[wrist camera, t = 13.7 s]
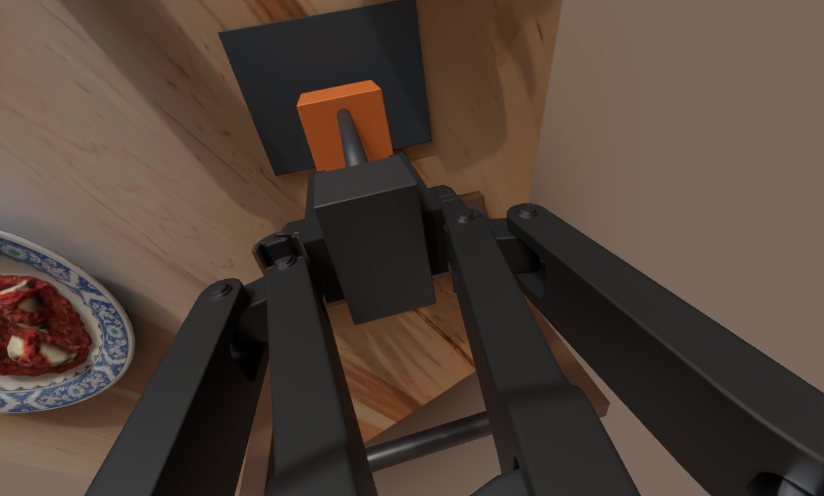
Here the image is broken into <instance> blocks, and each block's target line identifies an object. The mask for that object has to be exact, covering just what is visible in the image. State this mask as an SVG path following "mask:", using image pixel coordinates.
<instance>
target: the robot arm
mask: <svg viewBox="0 0 824 496" xmlns="http://www.w3.org/2000/svg"><path fill="white" fill-rule="evenodd" d="M397 155H399V156H400V158H401V159H402V161H403V162H404V164H405V165H406V167H407V168H408V170H409V171H410V173H411V174H412V176H413V178H414V179H415V181H416V182H417V184H418V189H419V195H420V202H421V208H422V215H423V221H424V228H425V234H426V241H427V247H428V254H429V260H430V267H431V273H432V276H433V275H437V274H441V273H445V272H448V271H449V268H448V262H449V264H450V265H451V269H452V279H453V288H454V293H456V294H457V298H458V301H459V305H460V309H461V313H462V317H463V321H464V325H465V329H466V333H467V337H468V341H469V344H470V348H471V352H472V356H473V360H474V364H475V368H476V372H477V376H478V379H479V383H480V387H481V391H482V395H483V399H484V403H485V407H486V411H487V415H488V419H489V422H490V426H491V430H492V434H493V438H494V442H495V446H496V450H497V454H498V458H499V463H500V468H501V475H498V476H496V477H495V478H493V479H492V480H490V481H489V482H488V483H486V484H485V485H484V486H482V487H481V488H479V489H478V490H477V491H475V492H474V493H473V494H471V495H470V496H641V495H640V494H639V491H638V489H637V488H636V486H635V484H634V483H633V480H632V478H631V476H630V475H629V473H628V471H627V469H626V467H625V465H624V463H623V461H622V460H621V458H620V456H619V454H618V452H617V450H616V448H615V447H614V445H613V443H612V441H611V439H610V437H609V435H608V433H607V432H606V430H605V428H604V426H603V424H602V422H601V420H600V419H599V417H598V415H597V413H596V411H595V409H594V407H593V405H592V404H591V402H590V400H589V399H588V397H587V395H586V394H585V392H584V391H583V390H582V389H581V388H580V387H579V386H574V385H570V384H569V383H568V382H567V380H566V379H565V377H564V375H563V373H562V371H561V369H560V367H559V365H558V363H557V361H556V359H555V357H554V355H553V353H552V351H551V349H550V347H549V345H548V343H547V341H546V339H545V337H544V335H543V333H542V331H541V329H540V327H539V325H538V323H537V321H536V319H535V317H534V315H533V313H532V311H531V309H530V307H529V305H528V303H527V301H526V299H525V297H524V295H525V296H526V297H527V298H528V299H529V300H530V302H531V303H532V304H533V305H534V306H535V307H536V308H537V309H538V310H539V311H540V312H541V314H542V315H543V316H544V317H545V318H546V319H547V320H548V321H549V322H550V323H551V324H552V326H553V327H554V328H555V329H556V330H557V331H558V332H559V333H560V334H561V335H562V336H563V337H564V339H565V340H566V341H567V342H568V343H569V344H570V345H571V346H572V347H573V348H574V350H575V351H576V352H577V353H578V354H579V355H580V356H581V357H582V358H583V359H584V360H585V361H586V362H587V364H588V365H589V366H590V367H591V368H592V369H593V370H594V371H595V372H596V373H597V375H598V376H599V377H600V378H601V379H602V380H603V381H604V382H605V383H606V384H607V385H608V387H609V388H610V389H611V390H612V391H613V392H614V393H615V394H616V395H617V396H618V397H619V399H620V400H621V401H622V402H623V403H624V404H625V405H626V406H627V407H628V408H629V409H630V411H631V412H632V413H633V414H634V415H635V416H636V417H637V418H638V419H639V420H640V421H641V423H642V424H643V425H644V426H645V427H646V428H647V429H648V430H649V431H650V432H651V433H652V434H653V436H654V437H655V438H656V439H657V440H658V441H659V442H660V443H661V444H662V445H663V446H664V447H665V449H666V450H667V451H668V452H669V453H670V454H671V455H672V456H673V457H674V458H675V460H676V461H677V462H678V463H679V464H680V465H681V466H682V467H683V468H684V469H685V470H686V471H687V472H688V473H689V474H690V475H691V476H692V477H693V478H694V479H695V480H696V481H697V482H698V483H699V484H700V485H701V486H702V487H703V488H704V489H705V490H706V491H707V492H708V493H709V494H710V495H711V496H824V393H823V392H821V391H820V390H818V389H817V388H815V387H814V386H812V385H810V384H809V383H808V382H806V381H805V380H803V379H802V378H800V377H799V376H797V375H796V374H794V373H792V372H791V371H789V370H788V369H786V368H785V367H783V366H782V365H780V364H779V363H777V362H775V361H774V360H773V359H771V358H770V357H768V356H767V355H765V354H764V353H762V352H761V351H759V350H758V349H756V348H755V347H753V346H752V345H750V344H749V343H747V342H746V341H744V340H743V339H741V338H739V337H738V336H737V335H735V334H734V333H732V332H731V331H729V330H728V329H726V328H725V327H723V326H721V325H720V324H719V323H717V322H716V321H714V320H712V319H711V318H710V317H708V316H707V315H705V314H703V313H702V312H700V311H699V310H697V309H696V308H694V307H693V306H691V305H690V304H688V303H687V302H685V301H684V300H682V299H681V298H679V297H678V296H676V295H675V294H673V293H672V292H670V291H669V290H667V289H666V288H664V287H663V286H661V285H660V284H658V283H657V282H655V281H653V280H652V279H651V278H649V277H648V276H646V275H645V274H643V273H641V272H640V271H639V270H637V269H636V268H634V267H633V266H631V265H630V264H628V263H626V262H625V261H624V260H622V259H620V258H619V257H617V256H616V255H614V254H613V253H611V252H609V251H608V250H607V249H605V248H604V247H602V246H601V245H599V244H598V243H596V242H595V241H593V240H592V239H590V238H588V237H587V236H586V235H584V234H583V233H581V232H580V231H578V230H577V229H575V228H574V227H572V226H571V225H569V224H568V223H566V222H565V221H563V220H562V219H560V218H559V217H557V216H555V215H554V214H553V213H551V212H550V211H548V210H546V209H545V208H543V207H541V206H539V205H535V204H531V203H527V204H526V203H523V204H519V205H515V206H513V207H511V208H510V209H509V210H508V211H507V218H501V219H485V217H484V215H483V214H482V213H481V212H480V211H478V210H476V209H469V208H468V207H467V206H466V205H465V204H464V203H463V201H462V200H461V199H460V198H459V197H458V195H457V194H456V193H455V192H454V191H453V190H452V188H450V187H447V186H445V185H441V186H436V187H432V188H427V186H426V185H425V183H424V182H423V181H422V179H421V178H420V176H419V175H418V173H417V172H416V170H415V169H414V167H413V166H412V164H411V163H410V162H409V160H408V159H407V157H406V156H405V154H404V153H403V152H402V153H397V154H393V155H389V157H393V156H397ZM322 172H325V170H322V171H318V172H313V173H309V178H308V189H307V200H306V211H305V219H302V220H298V221H293V222H289V223H287V225H286V226H285V227H284V228H283V229H282V232H278V233H274V234H272V235H269V236H267V237H265V238H264V239H262V240H261V241H260V242H259V243H258V244H257V245H256V247H255V251H256V253H257V255H258V257H259V259H260V261H261V263H262V265H263V267H264V269H265V276H263V277H262V278H260V279H258V280H256V281H254V282H251V283H249V284H247V285H245V286H243V284H242V283H241V281H240V280H239V279H235V278H230V279H224V280H221V281H217V282H215V283H213V284H211V285H210V286H209V287H208V288H206V289H205V290H204V291H203V292H202V293H201V294H200V295H199V297H198V298H197V300H196V302H195V304H194V305H193V307H192V309H191V311H190V312H189V314H188V316H187V318H186V319H185V321H184V323H183V324H182V326H181V328H180V330H179V331H178V333H177V335H176V337H175V338H174V340H173V342H172V344H171V345H170V347H169V349H168V351H167V352H166V354H165V356H164V358H163V359H162V361H161V363H160V364H159V366H158V368H157V370H156V371H155V373H154V375H153V377H152V378H151V380H150V382H149V384H148V385H147V387H146V389H145V391H144V392H143V394H142V396H141V398H140V399H139V401H138V403H137V405H136V406H135V408H134V410H133V411H132V413H131V415H130V417H129V418H128V420H127V422H126V424H125V425H124V427H123V429H122V431H121V432H120V434H119V436H118V438H117V439H116V441H115V443H114V445H113V446H112V448H111V450H110V451H109V453H108V455H107V457H106V458H105V460H104V462H103V464H102V465H101V467H100V469H99V471H98V472H97V474H96V476H95V478H94V479H93V481H92V483H91V485H90V486H89V488H88V490H87V491H86V493H85V495H84V496H234V495H235V491H236V487H237V483H238V479H239V475H240V472H241V468H242V464H243V460H244V456H245V452H246V448H247V444H248V440H249V436H250V432H251V428H252V424H253V420H254V416H255V412H256V408H257V404H258V401H259V397H260V393H261V389H262V385H263V381H264V377H265V373H266V369H267V365H268V361H269V360H270V380H271V400H272V420H273V440H274V460H275V475H274V479H273V480H272V481H270V482H269V483H268V484H267V486H266V489H265V492H264V496H378V494H377V490H376V487H375V483H374V479H373V476H372V472H371V469H370V465H369V461H368V458H367V454H366V450H365V447H364V443H363V440H362V436H361V432H360V429H359V425H358V421H357V418H356V414H355V411H354V407H353V403H352V400H351V396H350V393H349V389H348V385H347V382H346V378H345V374H344V371H343V367H342V364H341V360H340V356H339V353H338V349H337V345H336V342H335V338H334V335H333V331H332V327H331V324H330V320H329V317H328V313H327V310H326V308H325V305H324V303H323V295H324V297H325V300H326V302H327V304H328V303H332V302H336V301H340V300H343V299H345V297H344V294H343V291H342V288H341V285H340V282H339V280H338V277H337V274H336V271H335V268H334V265H333V263H332V260H331V257H330V254H329V251H328V248H327V246H326V243H325V240H324V237H323V234H322V232H321V229H320V226H319V223H318V220H317V217H316V215H315V212H314V209H313V208H314V190H315V174H318V173H322ZM523 294H524V295H523Z"/></svg>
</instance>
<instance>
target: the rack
mask: <svg viewBox="0 0 824 496" xmlns="http://www.w3.org/2000/svg"><path fill="white" fill-rule="evenodd" d="M458 197H459V198H460V199H461V200H462V201H463V203H464V204H465V205H466V206H467V207H468V208H469V209H476V210H478V211H480V212H481V213H482V214H483V215H484V195H483V194H482V193H481V192H480V191H476V192H472V193H468V194H464V195H460V196H458ZM484 217H485V215H484ZM255 247H256V245H254V247H253V250H252V254H253V255H254V257H255V259H256V261H257V263H258V265H259V267H260V269H261V271H262V273H263V275H264V276H265V269H264V267H263V265H262V263H261V261H260V259H259V257H258V255H257V253H256V251H255ZM448 268H449V271H448V272H445V273H441V274H437V275H433V276H432V279H436V278H439V277H443V276H447V275H451V274H452V269H451V265H450V264H449V262H448ZM523 295H524V294H523ZM524 297H525V299H526V301H527V303H528V305H529V307H530V309H531V311H532V313H533V315H534V317H535V319H536V321H537V323H538V325H539V327H540V329H541V331H542V333H543V335H544V337H545V339H546V341H547V343H548V345H549V347H550V349H551V351H552V353H553V355H554V357H555V359H556V361H557V363H558V365H559V367H560V369H561V371H562V373H563V375H564V377H565V379H566V380H567V382H568V383H569V384H570V385H574V386H579V387H580V388H581V389H582V390H583V391H584V392H585V394H586V395H587V397H588V399H589V400H590V402H591V404H592V405H593V407H594V409H595V411H596V413H597V415H598V417H599V418H600V417H603V416H606V413H607V410H608V407H609V404H610V402H609V401H608V400H607V398H606V397H605V396H604V394H603V393H602V392H601V391H600V389H599V388H598V387H597V385H596V384H595V383H594V382H593V380H592V379H591V378H590V376H589V375H588V374H587V373H586V371H585V370H584V369H583V367H582V366H581V365H580V364H579V362H578V361H577V360H576V358H575V357H574V356H573V355H572V353H571V352H570V351H569V349H568V348H567V347H566V346H565V344H564V343H563V342H562V340H561V339H560V338H559V337H558V335H557V334H556V333H555V332H554V330H553V329H552V328H551V326H550V325H549V324H548V322H547V321H546V320H545V319H544V317H543V316H542V315H541V313H540V312H539V311H538V310H537V308H536V307H535V306H534V305H533V304H532V303H531V302H530V300H529V299H528V298H527V297H526V296H525V295H524ZM345 302H346V299H343V300H340V301H336V302H332V303H328V304H327V302H326V300H325V297H324V295H323V303H324V305H325V308H327V307H330V306H334V305H338V304H342V303H345ZM491 434H492V430H491V426H490V422H489V419H488V415H487V411H484V412H481V413H477V414H474V415H471V416H468V417H465V418H461V419H459V420H455V421H452V422H449V423H445V424H442V425H439V426H436V427H433V428H429V429H426V430H423V431H420V432H416V433H413V434H410V435H407V436H404V437H401V438H397V439H394V440H391V441H388V442H384V443H381V444H378V445H375V446H371V447H368V448H365V450H366V454H367V458H368V461H369V465H370V469H371V472H376V471H379V470H382V469H384V468H388V467H391V466H394V465H397V464H401V463H404V462H407V461H410V460H413V459H416V458H419V457H422V456H426V455H429V454H432V453H435V452H438V451H441V450H444V449H448V448H450V447H454V446H457V445H460V444H463V443H466V442H470V441H473V440H476V439H479V438H482V437H485V436H488V435H491ZM274 475H275V460H274V440H273V420H272V400H271V380H270V360H269V361H268V365H267V369H266V373H265V377H264V381H263V385H262V389H261V393H260V397H259V401H258V404H257V408H256V412H255V416H254V420H253V424H252V428H251V433H250V439H249V444H248V450H247V455H246V461H245V466H244V472H243V478H242V483H241V489H240V494H239V496H264V492H265V489H266V486H267V484H268V483H269V482H270V481H272V480H273V479H274Z"/></svg>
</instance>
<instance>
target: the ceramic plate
mask: <svg viewBox="0 0 824 496" xmlns="http://www.w3.org/2000/svg"><path fill="white" fill-rule="evenodd" d="M134 350H135V336H134V330H133V327H132V324H131V321H130V320H129V318H128V316H127V314H126V312H125V310H124V308H123V307H122V306H121V304H120V303H119V302H118V301H117V299H116V298H115V297H114V296H113V295H112V294H111V293H110V292H109V291H108V290H107V289H106V288H105V287H104V286H103V285H102V284H101V283H100V282H99V281H97V280H96V279H95V278H94V277H93V276H91V275H90V274H89V273H87V272H86V271H84V270H83V269H82V268H80V267H79V266H77V265H75V264H74V263H72V262H71V261H69V260H67V259H66V258H64V257H62V256H60V255H58V254H56V253H54V252H53V251H51V250H49V249H46V248H44V247H42V246H40V245H38V244H35V243H33V242H31V241H28V240H26V239H23V238H21V237H18V236H15V235H12V234H9V233H6V232H3V231H0V413H2V414H9V413H29V412H37V411H45V410H51V409H57V408H62V407H66V406H69V405H73V404H76V403H79V402H82V401H85V400H87V399H90V398H92V397H95V396H96V395H98V394H100V393H102V392H103V391H105V390H107V389H108V388H110V387H111V386H112V385H113V384H115V383H116V382H117V381H118V380H119V379H120V378H121V377H122V376H123V375H124V373H125V372H126V371H127V369H128V367H129V365H130V363H131V361H132V359H133V355H134Z"/></svg>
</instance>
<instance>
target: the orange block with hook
mask: <svg viewBox="0 0 824 496" xmlns="http://www.w3.org/2000/svg"><path fill="white" fill-rule="evenodd" d="M297 110H298V113H299V116H300V119H301V122H302V125H303V128H304V131H305V134H306V137H307V141H308V144H309V147H310V150H311V153H312V156H313V159H314V162H315V165H316V168H317V171H322V170H325V172H322V173H318V174H315V190H314V208H313V209H314V212H315V215H316V217H317V220H318V223H319V226H320V229H321V232H322V234H323V237H324V240H325V243H326V246H327V248H328V251H329V254H330V257H331V260H332V263H333V265H334V268H335V271H336V274H337V277H338V280H339V282H340V285H341V288H342V291H343V294H344V297H345V299H346V302H347V305H348V308H349V311H350V314H351V316H352V319H353V322H354V324H355V325H358V324H362V323H365V322H369V321H373V320H376V319H380V318H384V317H387V316H391V315H395V314H398V313H402V312H405V311H409V310H413V309H416V308H420V307H424V306H427V305H431V304H435V303H436V299H435V293H434V286H433V280H432V273H431V267H430V260H429V254H428V247H427V241H426V234H425V228H424V221H423V215H422V208H421V202H420V195H419V189H418V184H417V182H416V181H415V179H414V178H413V176H412V174H411V173H410V171H409V170H408V168H407V167H406V165H405V164H404V162H403V161H402V159H401V158H400V156H399V155H397V156H393V157H389V155H393V149H392V144H391V138H390V133H389V127H388V122H387V117H386V111H385V106H384V101H383V95H382V90H381V88H380V87H378V86H377V85H376V84H375V83H374V82H373V81H372V80H367V81H362V82H357V83H352V84H347V85H343V86H338V87H333V88H328V89H323V90H318V91H313V92H308V93H303V94H301V96H300V98H299V101H298V104H297Z"/></svg>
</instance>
